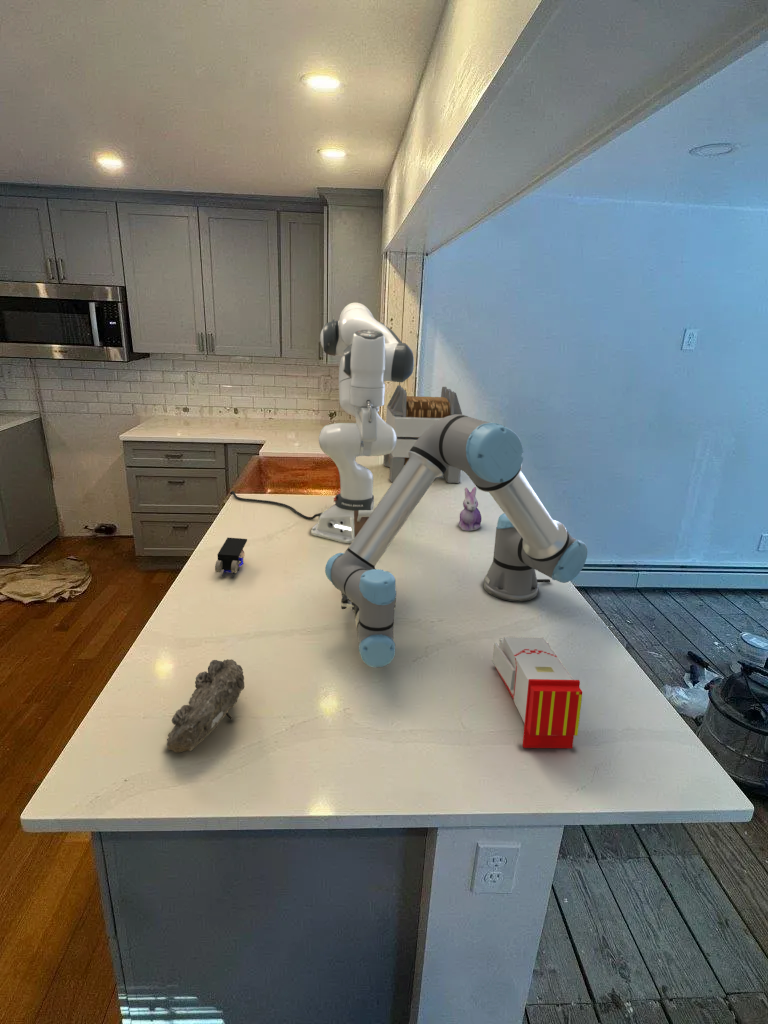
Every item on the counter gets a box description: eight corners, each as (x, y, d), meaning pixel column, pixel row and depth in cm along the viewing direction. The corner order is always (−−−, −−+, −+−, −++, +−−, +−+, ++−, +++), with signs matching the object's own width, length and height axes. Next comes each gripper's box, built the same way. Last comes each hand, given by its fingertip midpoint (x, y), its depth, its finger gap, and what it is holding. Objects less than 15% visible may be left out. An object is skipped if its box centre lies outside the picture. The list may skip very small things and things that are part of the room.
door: (353, 511, 152) (356, 502, 144) (373, 511, 153) (376, 502, 144) (354, 566, 148) (357, 559, 140) (374, 565, 149) (378, 559, 140)
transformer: (382, 463, 289) (386, 382, 275) (445, 464, 293) (451, 384, 279) (390, 482, 257) (394, 392, 243) (460, 483, 261) (468, 394, 247)
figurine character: (238, 584, 162) (249, 557, 175) (236, 562, 158) (247, 536, 172) (215, 584, 161) (227, 556, 175) (212, 561, 158) (225, 535, 171)
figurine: (467, 533, 203) (471, 493, 198) (451, 523, 211) (454, 485, 206) (488, 529, 207) (492, 490, 202) (471, 520, 215) (475, 482, 210)
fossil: (192, 660, 117) (244, 628, 112) (224, 691, 120) (276, 661, 115) (142, 746, 98) (202, 712, 93) (182, 779, 101) (242, 748, 96)
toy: (540, 620, 128) (592, 687, 99) (535, 674, 131) (584, 755, 102) (487, 619, 128) (523, 686, 99) (483, 673, 131) (517, 754, 101)
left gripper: (384, 404, 134) (381, 461, 139) (375, 392, 153) (373, 442, 158) (357, 404, 133) (356, 461, 138) (351, 391, 152) (350, 442, 157)
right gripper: (331, 632, 132) (329, 586, 154) (409, 630, 134) (395, 585, 156) (332, 604, 130) (329, 561, 151) (411, 602, 132) (397, 560, 153)
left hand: (365, 450), depth 148 cm, fingers open, 8 cm apart
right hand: (363, 573), depth 154 cm, fingers closed on chest, 5 cm apart
